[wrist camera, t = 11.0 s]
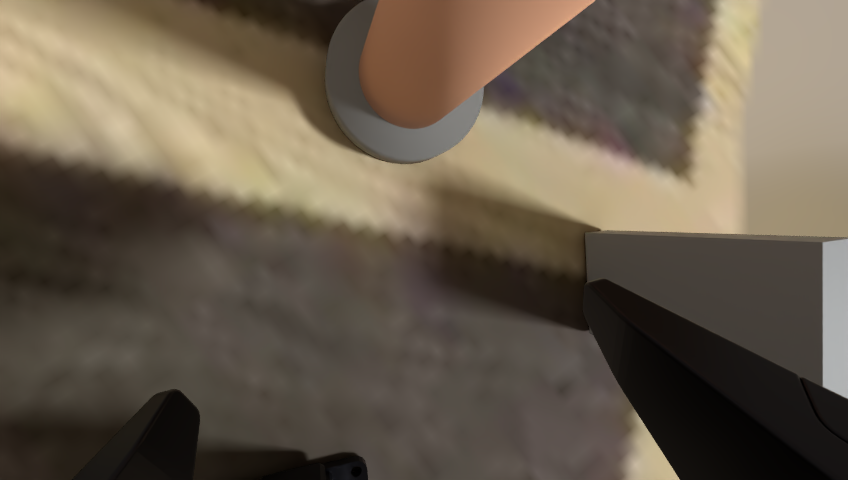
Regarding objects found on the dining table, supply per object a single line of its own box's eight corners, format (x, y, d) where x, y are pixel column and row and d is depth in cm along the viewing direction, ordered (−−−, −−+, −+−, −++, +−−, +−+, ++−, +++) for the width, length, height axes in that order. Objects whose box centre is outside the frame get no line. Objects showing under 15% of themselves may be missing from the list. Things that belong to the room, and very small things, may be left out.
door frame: (611, 329, 22) (854, 415, 12) (589, 333, 22) (822, 426, 12) (593, -113, 20) (857, -424, 11) (569, -118, 20) (822, -447, 10)
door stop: (461, 175, 19) (780, 79, 6) (315, 148, 17) (339, -78, 4) (479, 34, 19) (840, -360, 6) (335, -9, 17) (422, -741, 4)
